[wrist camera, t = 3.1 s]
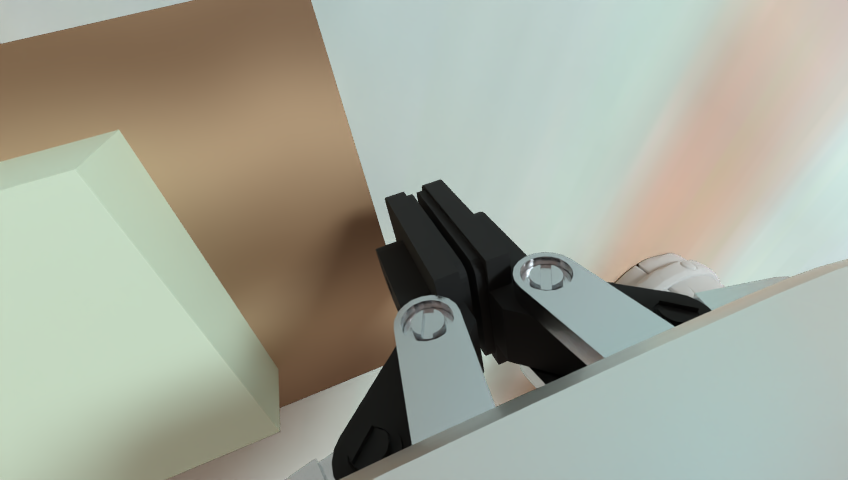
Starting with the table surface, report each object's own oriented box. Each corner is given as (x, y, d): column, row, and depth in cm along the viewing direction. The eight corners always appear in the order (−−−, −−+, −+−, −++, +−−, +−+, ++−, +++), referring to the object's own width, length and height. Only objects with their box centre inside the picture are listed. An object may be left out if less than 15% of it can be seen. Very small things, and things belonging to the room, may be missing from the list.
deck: (-533, 168, 8) (-943, 257, 5) (294, -20, 11) (303, -25, 8) (-20, 456, 16) (-82, 555, 13) (395, 298, 19) (417, 351, 16)
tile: (-197, 215, 8) (-358, 291, 6) (119, 129, 9) (75, 169, 7) (101, 438, 13) (70, 519, 11) (278, 369, 14) (280, 431, 12)
